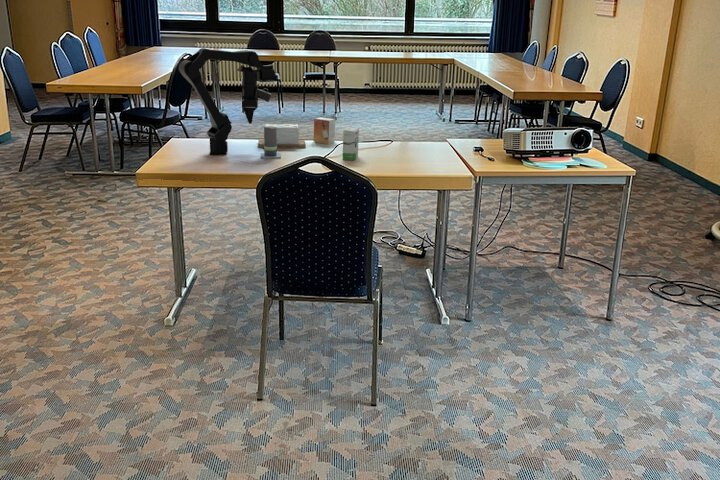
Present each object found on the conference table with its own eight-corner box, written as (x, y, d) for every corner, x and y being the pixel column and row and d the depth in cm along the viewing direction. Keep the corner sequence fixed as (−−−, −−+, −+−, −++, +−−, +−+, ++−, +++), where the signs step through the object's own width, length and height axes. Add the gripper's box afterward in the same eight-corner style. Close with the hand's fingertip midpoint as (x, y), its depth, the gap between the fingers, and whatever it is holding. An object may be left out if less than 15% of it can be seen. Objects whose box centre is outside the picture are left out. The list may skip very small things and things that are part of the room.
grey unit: (258, 147, 293) (258, 127, 290) (258, 142, 302) (258, 123, 300) (305, 147, 296) (305, 128, 293) (304, 143, 305) (304, 124, 302)
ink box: (354, 160, 276) (355, 131, 272) (342, 159, 277) (342, 130, 273) (358, 156, 284) (359, 127, 280) (346, 155, 285) (347, 126, 281)
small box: (313, 142, 308) (313, 118, 305) (319, 140, 313) (320, 116, 310) (328, 144, 305) (329, 120, 302) (335, 142, 310) (335, 118, 306)
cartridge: (263, 156, 275) (263, 128, 271) (264, 153, 280) (264, 126, 276) (276, 156, 275) (276, 128, 272) (277, 153, 280) (277, 126, 277)
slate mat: (260, 158, 274) (260, 156, 274) (260, 154, 280) (260, 153, 280) (280, 158, 275) (280, 156, 275) (280, 154, 282) (280, 153, 281)
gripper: (270, 86, 270) (270, 125, 275) (269, 80, 288) (270, 118, 293) (241, 85, 269) (242, 125, 274) (242, 80, 286) (243, 117, 291)
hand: (250, 121), depth 283 cm, fingers open, 9 cm apart
